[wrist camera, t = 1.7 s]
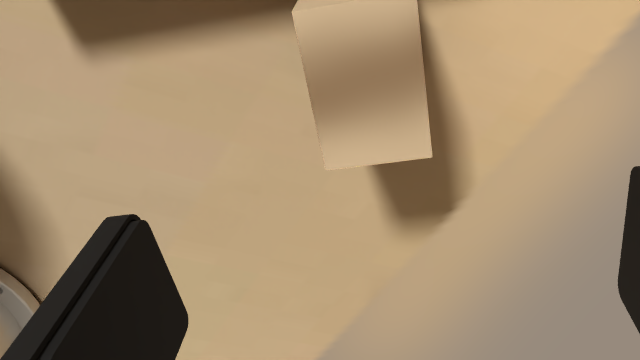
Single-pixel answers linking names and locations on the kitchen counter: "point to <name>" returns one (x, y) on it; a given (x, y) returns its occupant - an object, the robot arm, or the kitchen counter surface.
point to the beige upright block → (365, 80)
